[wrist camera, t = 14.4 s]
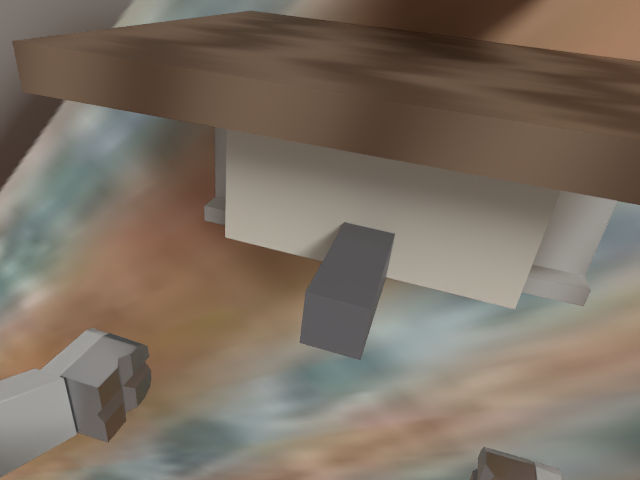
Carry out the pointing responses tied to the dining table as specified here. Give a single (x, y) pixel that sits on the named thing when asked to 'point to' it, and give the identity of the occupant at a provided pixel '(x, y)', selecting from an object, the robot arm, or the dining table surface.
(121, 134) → the dining table surface
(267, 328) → the dining table surface
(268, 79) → the wood-topped platform
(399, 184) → the cabinet
